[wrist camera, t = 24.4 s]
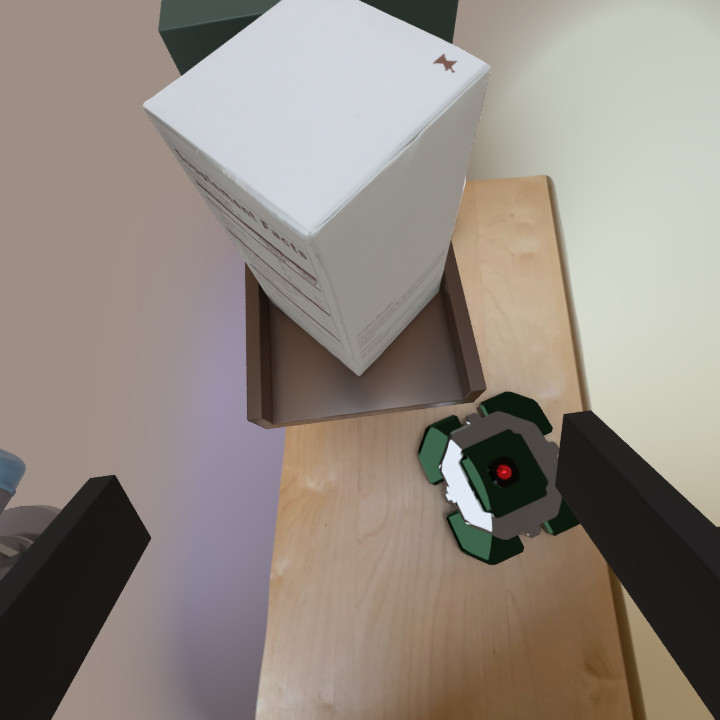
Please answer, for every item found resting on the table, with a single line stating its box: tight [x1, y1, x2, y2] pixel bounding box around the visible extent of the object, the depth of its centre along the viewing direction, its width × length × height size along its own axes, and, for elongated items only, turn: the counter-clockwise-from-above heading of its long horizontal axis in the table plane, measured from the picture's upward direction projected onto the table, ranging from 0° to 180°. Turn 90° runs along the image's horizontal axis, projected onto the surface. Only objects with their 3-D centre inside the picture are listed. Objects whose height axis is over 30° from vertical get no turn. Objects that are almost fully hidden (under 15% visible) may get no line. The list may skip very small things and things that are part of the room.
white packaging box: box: [143, 0, 491, 376], centre depth 16 cm, size 7×7×13 cm
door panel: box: [158, 0, 459, 76], centre depth 35 cm, size 14×5×44 cm, turn 97°
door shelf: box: [245, 241, 487, 429], centre depth 26 cm, size 12×14×11 cm
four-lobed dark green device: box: [417, 392, 580, 565], centre depth 47 cm, size 18×18×5 cm
